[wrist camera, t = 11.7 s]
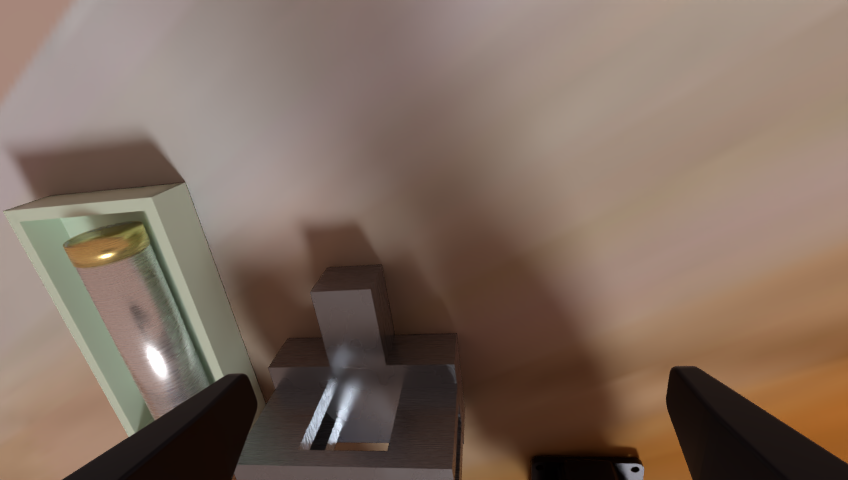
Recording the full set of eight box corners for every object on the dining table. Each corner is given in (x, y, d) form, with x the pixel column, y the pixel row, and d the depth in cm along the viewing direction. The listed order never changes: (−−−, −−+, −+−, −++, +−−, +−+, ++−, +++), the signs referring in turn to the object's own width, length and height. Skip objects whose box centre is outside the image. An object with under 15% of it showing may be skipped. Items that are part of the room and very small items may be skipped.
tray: (268, 412, 27) (250, 443, 25) (158, 412, 28) (131, 442, 26) (185, 182, 21) (151, 197, 19) (49, 195, 22) (3, 211, 20)
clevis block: (465, 408, 25) (460, 531, 18) (309, 408, 27) (255, 521, 20) (448, 260, 21) (435, 351, 15) (266, 271, 23) (182, 357, 16)
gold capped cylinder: (224, 389, 27) (211, 429, 24) (169, 402, 26) (149, 444, 23) (153, 216, 22) (125, 239, 19) (85, 228, 21) (46, 254, 18)
